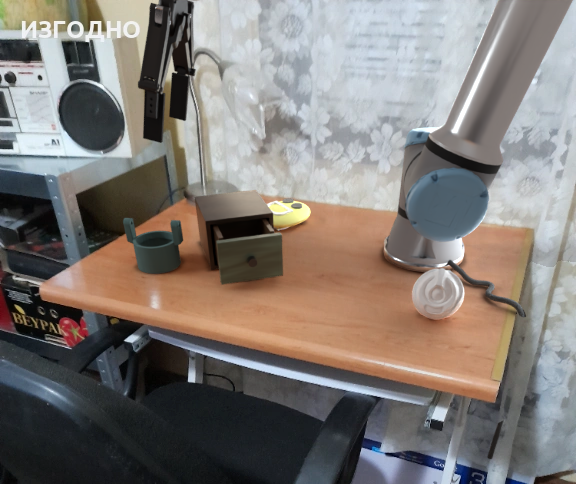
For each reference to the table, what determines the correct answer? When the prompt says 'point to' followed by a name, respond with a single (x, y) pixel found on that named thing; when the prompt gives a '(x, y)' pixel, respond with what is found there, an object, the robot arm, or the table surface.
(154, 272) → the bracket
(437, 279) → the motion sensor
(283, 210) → the emoji
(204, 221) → the case
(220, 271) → the case drawer
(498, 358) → the table surface
